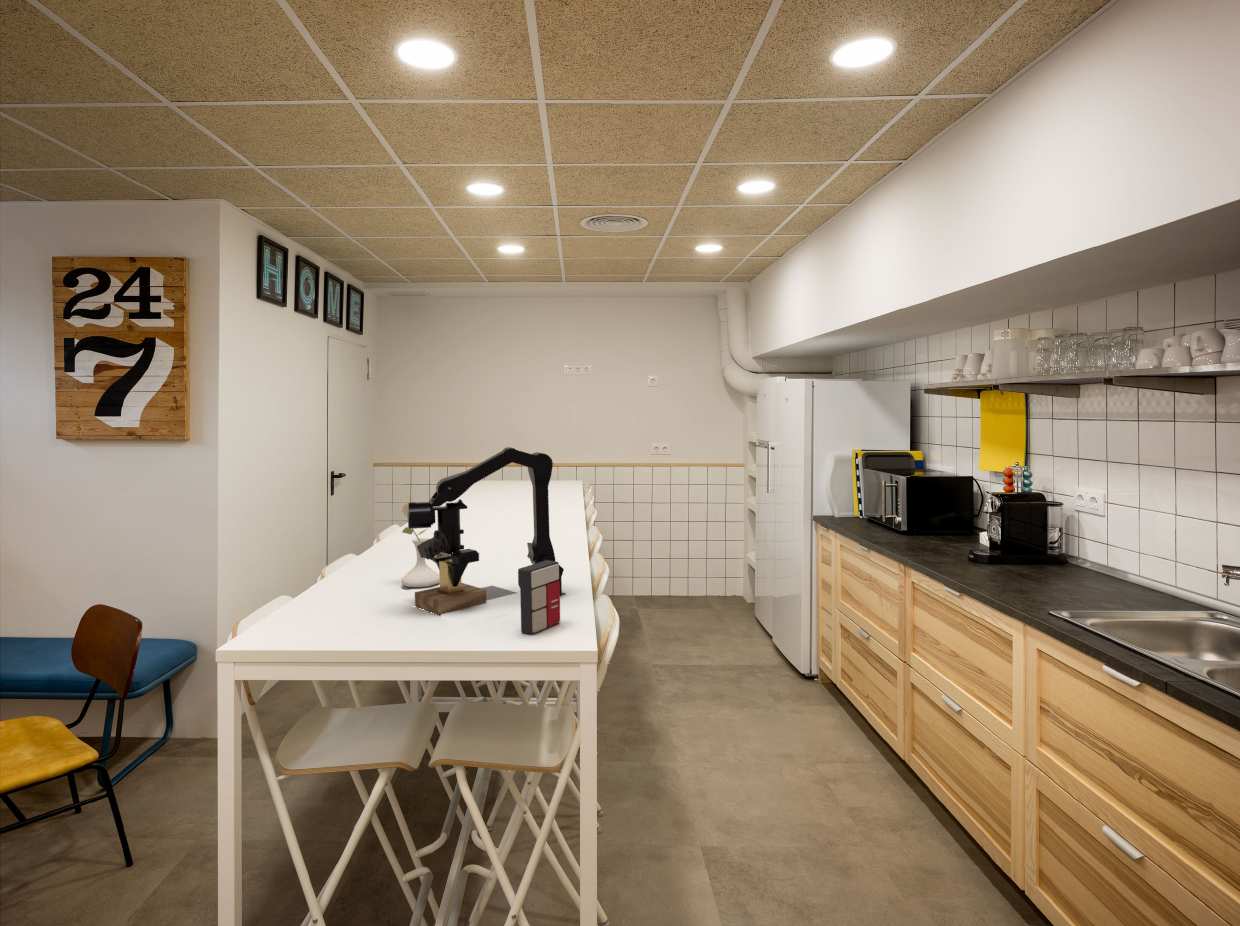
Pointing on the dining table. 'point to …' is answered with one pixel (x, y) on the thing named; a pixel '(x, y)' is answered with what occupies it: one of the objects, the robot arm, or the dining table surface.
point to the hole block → (449, 599)
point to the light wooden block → (447, 579)
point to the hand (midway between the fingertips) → (450, 585)
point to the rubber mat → (496, 592)
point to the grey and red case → (539, 596)
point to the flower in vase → (419, 563)
